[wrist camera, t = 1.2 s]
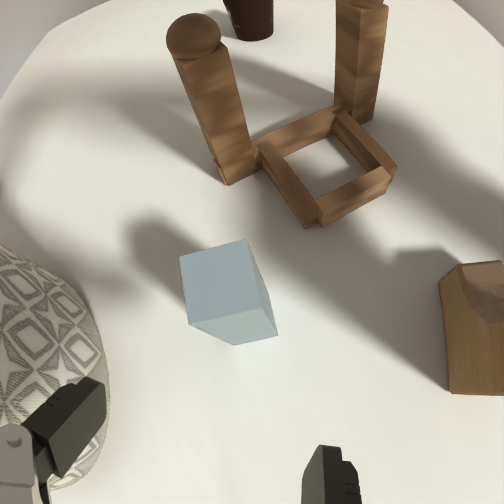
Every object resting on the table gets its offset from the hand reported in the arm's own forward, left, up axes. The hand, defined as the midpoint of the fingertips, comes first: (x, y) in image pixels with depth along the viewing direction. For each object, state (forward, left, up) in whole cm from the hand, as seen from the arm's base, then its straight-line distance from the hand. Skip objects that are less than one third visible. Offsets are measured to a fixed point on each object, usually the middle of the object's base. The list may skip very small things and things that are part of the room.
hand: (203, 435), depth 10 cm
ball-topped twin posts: (-17, -17, -17) cm, 29 cm away
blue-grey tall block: (-3, -7, -17) cm, 19 cm away
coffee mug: (-26, -50, -17) cm, 59 cm away
